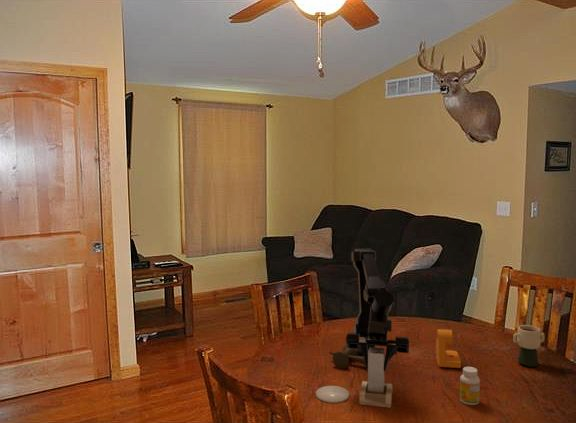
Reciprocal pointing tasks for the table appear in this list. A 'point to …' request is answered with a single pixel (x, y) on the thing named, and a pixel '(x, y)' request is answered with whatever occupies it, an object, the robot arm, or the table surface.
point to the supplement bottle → (469, 386)
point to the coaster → (332, 394)
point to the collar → (376, 396)
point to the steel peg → (376, 370)
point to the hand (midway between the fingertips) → (375, 370)
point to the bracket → (446, 356)
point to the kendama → (346, 357)
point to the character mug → (528, 344)
